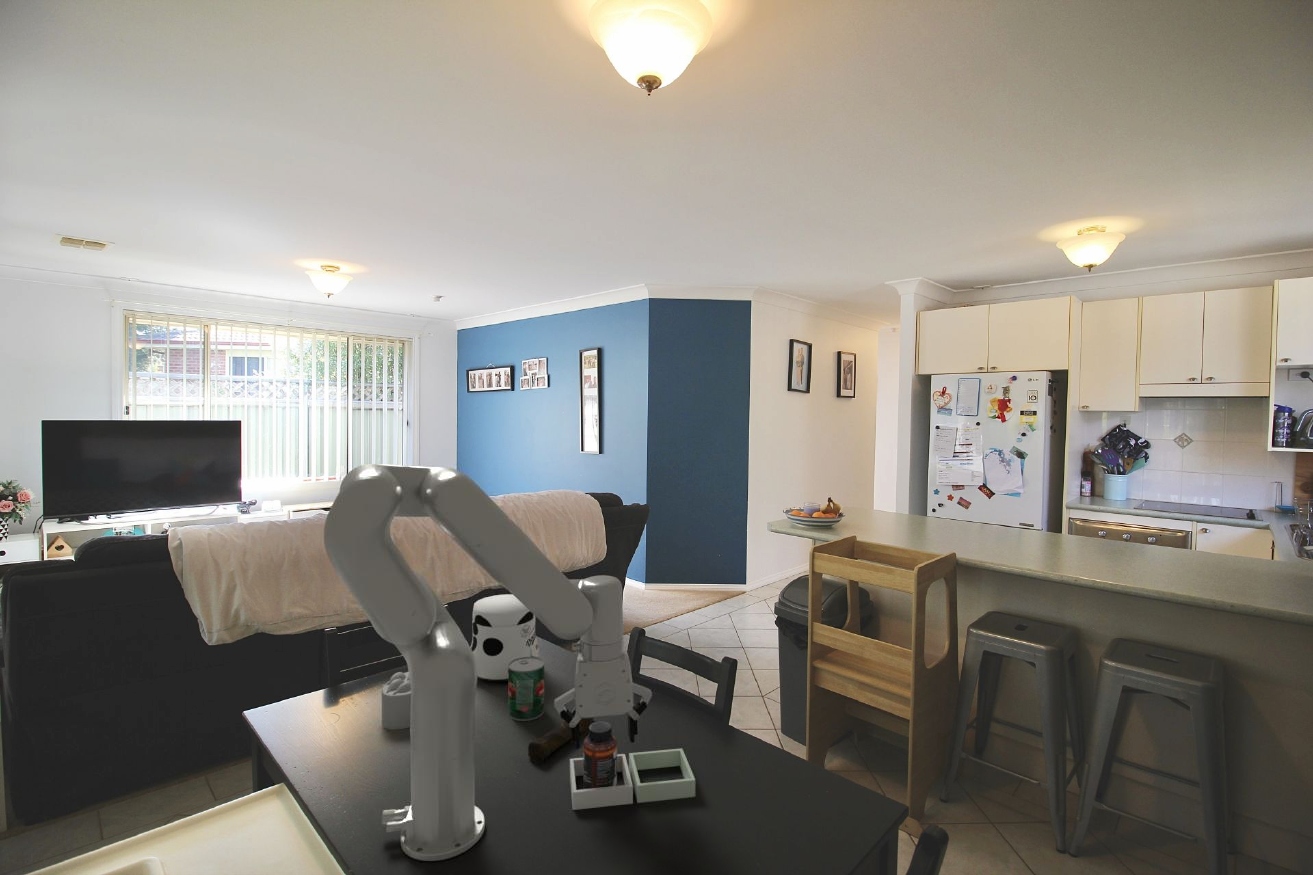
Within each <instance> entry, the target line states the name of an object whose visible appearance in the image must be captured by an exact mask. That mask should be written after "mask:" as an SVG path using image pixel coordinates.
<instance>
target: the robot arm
mask: <svg viewBox="0 0 1313 875" xmlns="http://www.w3.org/2000/svg"><path fill="white" fill-rule="evenodd" d="M395 517H398V518H403V517H405V518H409V517H410V518H423V517H424V518H425V517H426V518H427V517H428V518H430V519H431V520H432V521H433V522H434V523H435V524H436V525H437V526H438V527H439V528H440V529H441V530H442V532H444V533H445V534H446V535H448V536H449V538H451V539H452V540H453V541H454V542H455V543H456V545H458V546H459V547H460V548H461V549H462V550H463V551H464V552H465V553H466V554H467V555H468V556H469V557H470V558H471V559H472V560H473V561H474V562H475V563H476V564H477V565H478V566H479V567H480V568H482V569H483V570H484V571H485V572H486V573H487V574H488V575H489V576H490V577H491V579H493V580H494V581H495V582H496V583H498V584H499V585H500V586H502V587H503V588H504V589H506V590H507V591H509V593H510V594H513V595H514V596H515V597H516V598H517V599H518V600H519V601H520V602H521V603H522V604H523V605H524V606H526V607H527V608H528V609H529V610H530V611H531V612H532V613H533V614H534V615H535V618H536V619H538V620H539V621H540V622H541V623H542V624H543V625H544V626H545V627H546V628H547V629H548V630H549V631H550V632H551V633H552V634H553V635H554V636H555V637H557V638H559V639H562V640H565V641H569V640H570V641H571V640H576V639H580V640H578V642H576V643H572V644H571V645H572V652H577V653H578V655H577V657H576V658H577V659H576V664H575V672H574V687H573V688H571V689H569V690H567V691H566V692H565V693H562V694H561V695H560V696H558V697H557V698H555V699H554V701H553V706H554V708H555V709H556V711H557V713H558V714H559V716H560V718H561V719H562V720H563V721H564V722H565V721H566V722H567V723H568V724H569V725H570V727H571V738H570V743H574V745H575V746H574V747H575V750H579V749H580V748H581V740H580V738H581V737H580V734H581V733H579V721H580V720H581V718H593V719H594V718H595V719H596V718H602V717H603V718H604V717H611V716H619V715H626V714H627V735H628V738H629V741H630V743H631V744H632V743H635V736H636V735H638V733H639V732H638V720H639V719H640V717H641V714H643V713H644V711H645V710H646V709H647V707H648V704H649V703H650V701H651V698H652V697H653V692H652V690H651V689H650V688H648V687H645V686H643V685H640V684H637V683H635V682H633V677H632V668H631V662H630V657H629V654H628V652H627V651H626V650H624V648H625V647H624V619H623V618H624V612H623V611H624V610H623V606H624V605H623V603H624V602H623V585H622V583H621V581H620V579H618V577H616V576H611V575H604V574H603V575H600V574H599V575H594V576H590V577H586V578H581V579H569V578H568V577H567V576H566V575H565V574H564V573H563V572H562V571H561V570H560V569H559V568H558V567H557V566H556V565H555V564H554V563H553V562H552V561H551V560H550V559H549V558H548V557H547V555H545V554H544V553H543V552H542V551H541V550H540V548H539V547H538V545H536V544H535V543H534V541H533V540H532V539H531V538H530V536H528V535H527V533H526V532H524V531H523V530H522V529H521V528H520V527H519V526H518V525H517V524H516V523H515V521H513V520H512V519H511V518H510V517H509V515H508V514H506V512H504V511H503V510H502V508H501V507H500V506H499V505H498V504H497V503H496V502H495V500H493V499H492V498H491V497H490V496H489V495H488V494H487V493H486V492H485V491H484V490H483V489H482V488H481V487H480V485H478V484H477V483H476V482H475V480H473V479H472V478H471V477H469V475H466V474H465V473H463V472H461V471H459V470H457V469H455V468H451V467H440V466H439V467H437V466H435V467H433V466H432V467H431V466H413V465H397V464H396V465H395V464H385V463H384V464H380V463H368V464H367V463H366V464H362V465H359V466H357V467H355V468H353V469H351V470H350V471H348V473H347V474H346V475H345V476H344V478H343V479H342V481H341V484H340V487H339V492H338V493H337V496H336V497H335V498H334V501H333V502H332V505H331V506H330V509H329V510H328V514H327V516H326V519H325V522H324V527H323V529H324V530H323V543H324V548H325V552H326V555H327V557H328V559H329V561H330V564H331V565H332V566H333V568H334V570H335V572H336V573H337V574H338V576H339V577H340V579H341V580H342V581H343V583H344V584H345V586H346V587H347V589H348V591H349V592H350V594H351V595H352V597H353V599H354V600H355V601H356V603H357V604H358V606H359V607H360V609H361V610H362V611H363V613H364V614H365V615H366V617H367V619H368V620H369V621H370V623H371V625H372V627H373V628H374V631H376V633H377V634H378V636H380V637H381V638H382V639H383V640H385V641H387V642H388V643H391V644H393V645H394V646H395V647H396V648H397V649H398V651H399V652H400V654H401V655H402V657H403V658H404V660H405V661H406V665H407V669H408V671H407V672H409V675H410V682H411V714H410V727H409V728H410V729H409V732H410V733H409V734H410V738H409V739H410V741H409V743H410V805H405V806H404V808H400V809H398V808H397V809H396V808H394V809H384V810H382V816H381V824H382V825H386V830H385V831H386V833H391V832H399V831H401V832H400V847H401V850H402V851H403V852H404V853H405V855H407V857H410V858H412V859H415V860H418V861H423V862H435V861H443V860H444V861H445V860H448V859H451V858H453V857H456V856H459V855H460V854H462V853H465V852H466V851H468V850H469V849H471V848H472V847H473V846H474V845H475V844H476V843H478V841H479V840H480V839H481V838H482V836H483V834H484V832H485V828H486V827H485V826H486V822H485V821H486V818H485V814H484V813H483V811H482V810H481V809H480V808H479V807H478V806H476V804H475V802H476V801H475V796H476V795H475V791H476V790H475V785H476V784H475V783H476V782H475V781H476V780H475V778H476V777H475V776H476V775H475V774H476V772H475V769H476V768H475V767H476V766H475V760H476V759H475V758H476V757H475V751H476V750H475V711H476V710H475V708H476V707H475V705H476V694H477V685H478V677H477V666H476V661H475V657H474V655H473V652H472V650H471V648H470V647H471V645H469V642H468V641H467V639H466V638H465V636H464V633H463V632H462V630H461V629H460V626H458V624H457V623H456V621H455V620H454V619H453V618H452V616H451V614H450V613H449V611H448V609H447V608H446V607H445V605H444V604H443V602H442V601H441V600H440V598H439V597H438V595H437V594H436V593H435V590H434V589H433V588H432V586H431V584H429V581H427V579H426V578H425V577H424V576H423V575H422V574H420V573H419V572H417V571H415V570H413V569H412V568H411V566H410V564H408V563H407V560H406V559H405V557H404V556H403V553H402V552H401V551H400V550H399V548H398V547H397V545H396V544H395V542H394V540H393V539H392V536H391V524H392V523H393V520H394V519H395ZM634 694H637V695H639V696H641V698H640V699H639V701H638V702H636V704H634ZM572 700H574V708H573V709H572V711H569V709H567V708H566V707H565V705H566V704H568V703H570V702H571V701H572Z"/></svg>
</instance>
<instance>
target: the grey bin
mask: <svg viewBox="0 0 1313 875" xmlns="http://www.w3.org/2000/svg"><path fill="white" fill-rule="evenodd" d="M617 773H622V777H623V783H624V784H623V785H617V786H611V787H602V788H592V789H584V788H583V789H577V784H576V777H580V776H583V757H575V758H570V759H569V778H570V779H569V782H570V792H571V804H572V805H571V806H572V811H576V810H584V809H585V810H586V809H593V808H603V807H610V806H611V807H613V806H614V807H615V806H620V805H621V806H622V805H623V806H624V805H632V804H634V800H633V799H634V797H633V796H634V787H633V783H632V779H631V775H630V771H629V763H628V761H627V758H626V754H625V753H619V754H618V753H617Z"/></svg>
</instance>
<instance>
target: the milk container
mask: <svg viewBox="0 0 1313 875" xmlns="http://www.w3.org/2000/svg"><path fill="white" fill-rule="evenodd" d="M471 625H472V626H471V627H472V640H471V644H470V648H471V650H472V652H473V655H474V657H475V661H476V666H477V679H481V680H483V681H489V682H496V683H497V682H508V664H509V663H510V662H511V661H512V660H514V659H517V658H521V657H537V658H540V656H539V655H540V650H539V644H538V639H537V635H536V616H535V615H534V614H533V613H532V612H531V611H530V610H529V609H528V608H527V607H526V606H524V605H523V604H522V603H521V602H520V601H519V600H518V599H517V598H516V597H515V596H514V595H513V594H512V593H509V594H498V595H492V596H488V597H483V598H481V599H478V600H477V601H476V602H474V604H473V608H472V623H471Z"/></svg>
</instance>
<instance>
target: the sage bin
mask: <svg viewBox="0 0 1313 875" xmlns="http://www.w3.org/2000/svg"><path fill="white" fill-rule="evenodd" d="M628 756H629V757H628V769H629V773H630V777H631V781H632V785H633V792H634V795H635V799H636V803H637V804H640V803H649V802H650V803H651V802H660V801H666V800H667V801H668V800H677V799H687V798H694V797H696V778H695V775H694V773H693V771H692V769H691V766H690V764H689V762H688V760H687V756H686V755H685V752H684V750H683V748H682V747H681V748H673V749H672V748H671V749H663V750H651V751H641V752H639V751H638V752H629V753H628ZM670 767H671V768H672V767H679V768H680V770H681V771H680V772H681V773H682V776H683V778H681V779H679V778H678V779H673V780H670V779H669V780H661V781H651V782H643V783H641V781H640V780H641V779H640V777H639V773H638V771H639V770H640V771H641V770H649V769H650V770H651V769H660V768H662V769H663V768H670Z"/></svg>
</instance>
